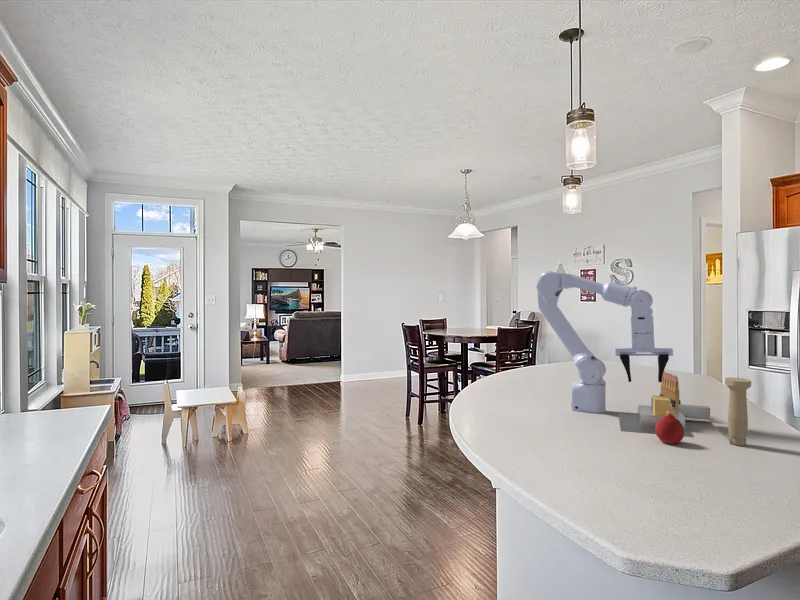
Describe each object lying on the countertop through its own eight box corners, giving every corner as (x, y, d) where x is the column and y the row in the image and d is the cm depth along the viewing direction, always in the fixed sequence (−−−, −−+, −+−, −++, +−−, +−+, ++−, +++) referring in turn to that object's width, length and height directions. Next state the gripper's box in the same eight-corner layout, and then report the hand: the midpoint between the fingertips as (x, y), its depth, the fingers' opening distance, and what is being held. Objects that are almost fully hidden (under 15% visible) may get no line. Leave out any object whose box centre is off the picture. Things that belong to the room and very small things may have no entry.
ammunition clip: (680, 418, 147) (681, 376, 147) (674, 418, 147) (674, 375, 147) (665, 410, 158) (665, 370, 158) (659, 410, 158) (659, 370, 158)
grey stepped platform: (620, 435, 130) (620, 408, 130) (618, 416, 149) (618, 394, 149) (723, 444, 122) (723, 416, 122) (706, 423, 141) (707, 399, 141)
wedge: (654, 422, 134) (654, 399, 134) (652, 418, 139) (652, 395, 139) (670, 424, 132) (670, 400, 132) (667, 419, 138) (667, 396, 138)
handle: (745, 441, 124) (745, 378, 124) (754, 449, 118) (754, 382, 118) (722, 439, 125) (722, 377, 125) (729, 447, 119) (729, 381, 119)
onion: (681, 444, 121) (681, 410, 121) (686, 451, 116) (686, 415, 116) (653, 442, 123) (653, 408, 123) (657, 449, 118) (657, 413, 118)
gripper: (614, 334, 146) (616, 383, 146) (673, 333, 141) (675, 384, 140) (614, 332, 153) (616, 379, 152) (670, 332, 147) (672, 380, 147)
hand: (644, 381), depth 147 cm, fingers open, 7 cm apart
